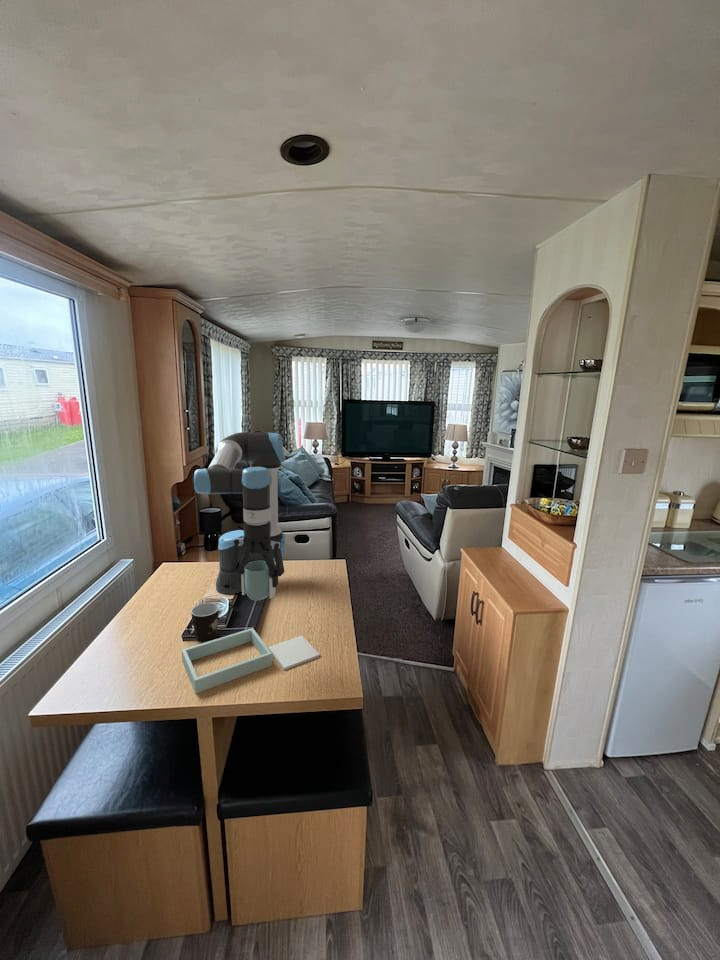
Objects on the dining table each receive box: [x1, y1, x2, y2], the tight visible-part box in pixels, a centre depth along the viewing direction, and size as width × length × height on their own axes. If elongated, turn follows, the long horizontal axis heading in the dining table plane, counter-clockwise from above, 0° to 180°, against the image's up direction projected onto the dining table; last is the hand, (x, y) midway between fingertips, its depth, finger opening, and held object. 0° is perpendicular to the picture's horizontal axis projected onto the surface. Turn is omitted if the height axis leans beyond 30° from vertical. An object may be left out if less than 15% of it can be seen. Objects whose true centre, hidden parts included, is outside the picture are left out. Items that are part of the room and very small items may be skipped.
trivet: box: [267, 635, 321, 671], centre depth 128 cm, size 12×12×1 cm
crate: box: [181, 627, 273, 695], centre depth 122 cm, size 16×22×4 cm
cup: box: [244, 561, 271, 601], centre depth 120 cm, size 8×8×10 cm
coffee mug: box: [187, 602, 220, 643], centre depth 133 cm, size 12×9×10 cm
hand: (258, 594), depth 121 cm, fingers closed on cup, 8 cm apart
